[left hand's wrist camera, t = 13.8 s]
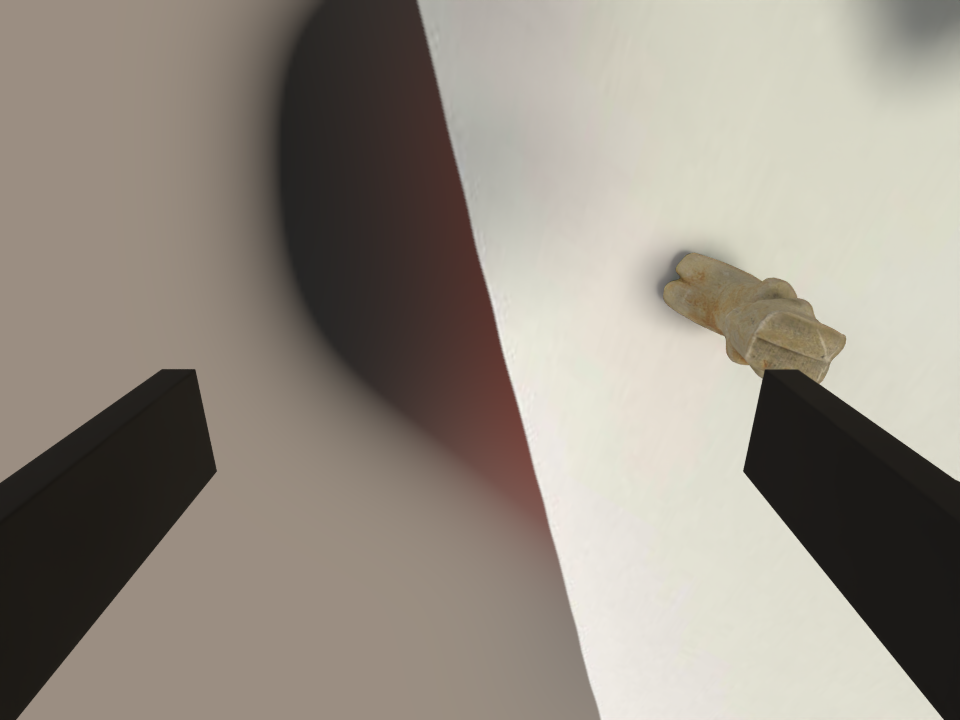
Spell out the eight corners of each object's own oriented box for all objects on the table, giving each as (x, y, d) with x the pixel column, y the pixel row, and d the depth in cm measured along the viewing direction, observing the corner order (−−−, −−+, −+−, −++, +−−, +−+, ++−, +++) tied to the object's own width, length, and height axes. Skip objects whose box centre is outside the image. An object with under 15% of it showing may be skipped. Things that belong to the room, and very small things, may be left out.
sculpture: (687, 235, 41) (793, 281, 27) (765, 274, 42) (904, 337, 29) (647, 302, 43) (727, 376, 29) (723, 337, 44) (833, 425, 31)
